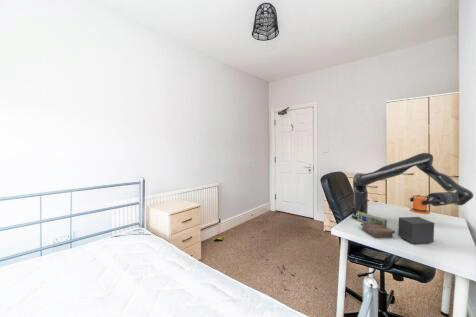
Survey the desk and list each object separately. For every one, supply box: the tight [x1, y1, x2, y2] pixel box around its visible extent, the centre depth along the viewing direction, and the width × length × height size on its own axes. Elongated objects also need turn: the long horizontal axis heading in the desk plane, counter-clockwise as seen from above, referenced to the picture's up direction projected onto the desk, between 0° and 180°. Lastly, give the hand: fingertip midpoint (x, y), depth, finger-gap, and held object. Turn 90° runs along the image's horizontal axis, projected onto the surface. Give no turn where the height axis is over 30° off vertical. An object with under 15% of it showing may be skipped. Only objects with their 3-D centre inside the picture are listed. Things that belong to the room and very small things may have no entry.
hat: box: [409, 195, 431, 215], centre depth 122 cm, size 9×9×8 cm
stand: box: [360, 222, 395, 239], centre depth 134 cm, size 14×12×4 cm
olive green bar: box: [351, 211, 388, 228], centre depth 150 cm, size 7×3×25 cm
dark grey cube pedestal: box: [398, 216, 435, 245], centre depth 123 cm, size 10×12×12 cm
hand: (416, 201), depth 121 cm, fingers closed on hat, 6 cm apart
